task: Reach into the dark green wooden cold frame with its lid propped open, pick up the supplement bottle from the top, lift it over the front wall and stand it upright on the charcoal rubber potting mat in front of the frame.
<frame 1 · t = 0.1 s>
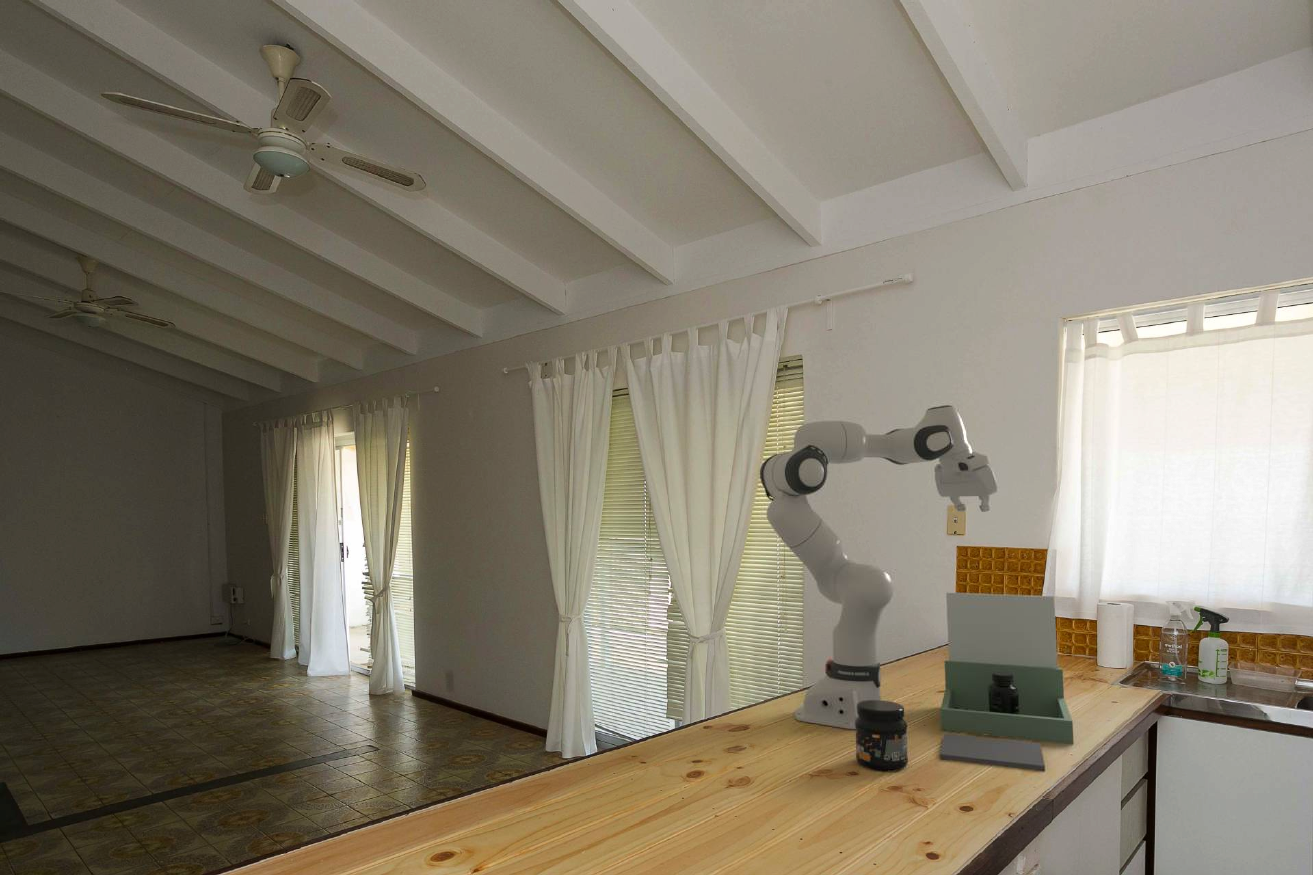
hand: (973, 510, 211), 52 cm above the counter, tool tilted 20°, fingers open, 8 cm apart
cold frame: (1004, 723, 192), on the counter
potting mat: (991, 753, 169), on the counter
supplement bottle: (1004, 724, 192), resting in cold frame
supplement container: (881, 765, 162), on the counter
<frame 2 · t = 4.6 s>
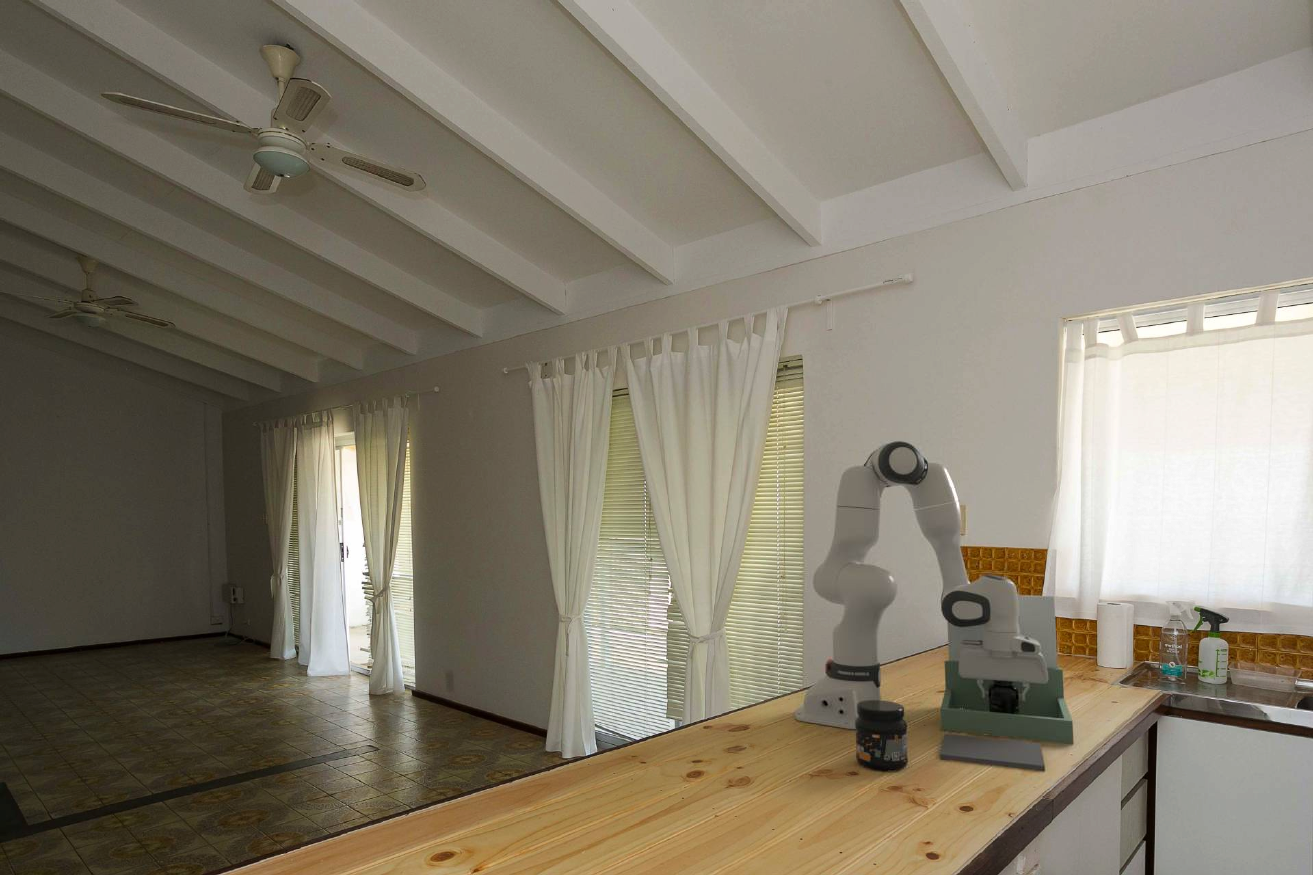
hand: (1003, 698, 191), 6 cm above the counter, tool pointing down, fingers open, 7 cm apart
supplement bottle: (1004, 724, 192), resting in cold frame, touching gripper
everything else where it was.
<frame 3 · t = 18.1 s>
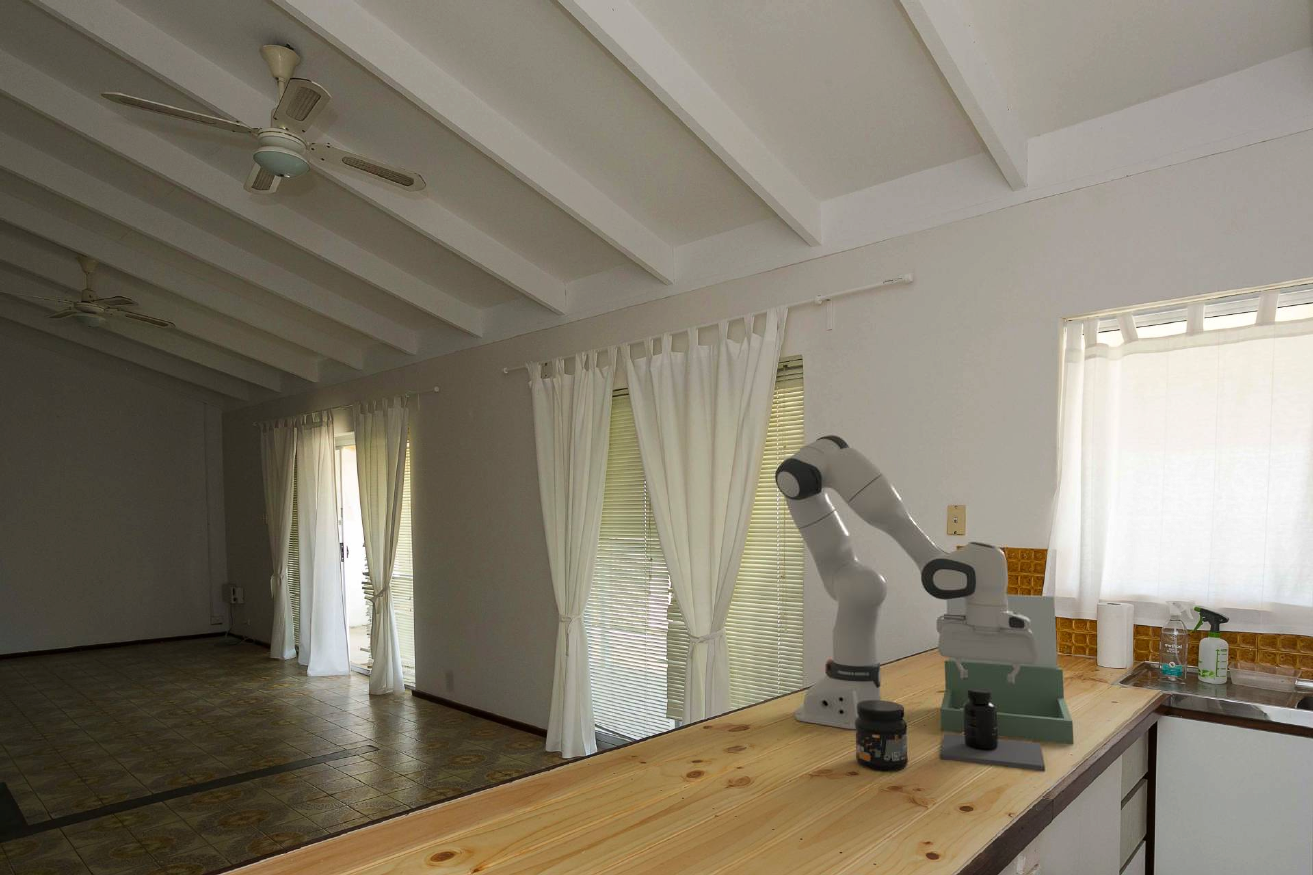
hand: (987, 680, 171), 15 cm above the counter, tool pointing down, fingers open, 8 cm apart
supplement bottle: (981, 746, 171), point 1 cm above the counter, touching potting mat
everything else where it was.
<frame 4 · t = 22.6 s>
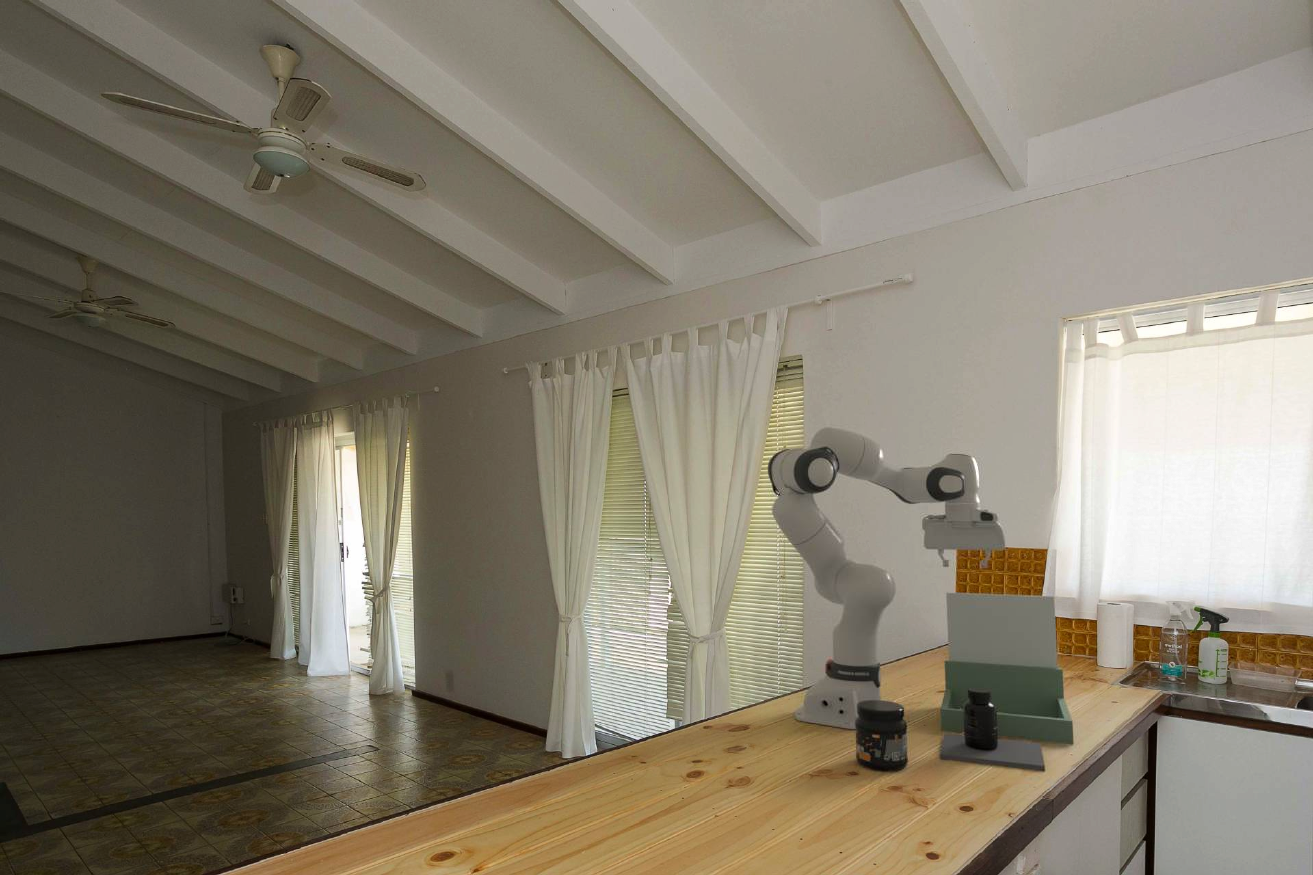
hand: (964, 567, 207), 37 cm above the counter, tool pointing down, fingers open, 8 cm apart
nothing on the counter moved.
at the end: supplement bottle inside the target area on the potting mat (2.3 cm from its centre), point 0.8 cm above the potting mat's base; supplement bottle tilted 0°; the gripper is holding nothing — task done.
